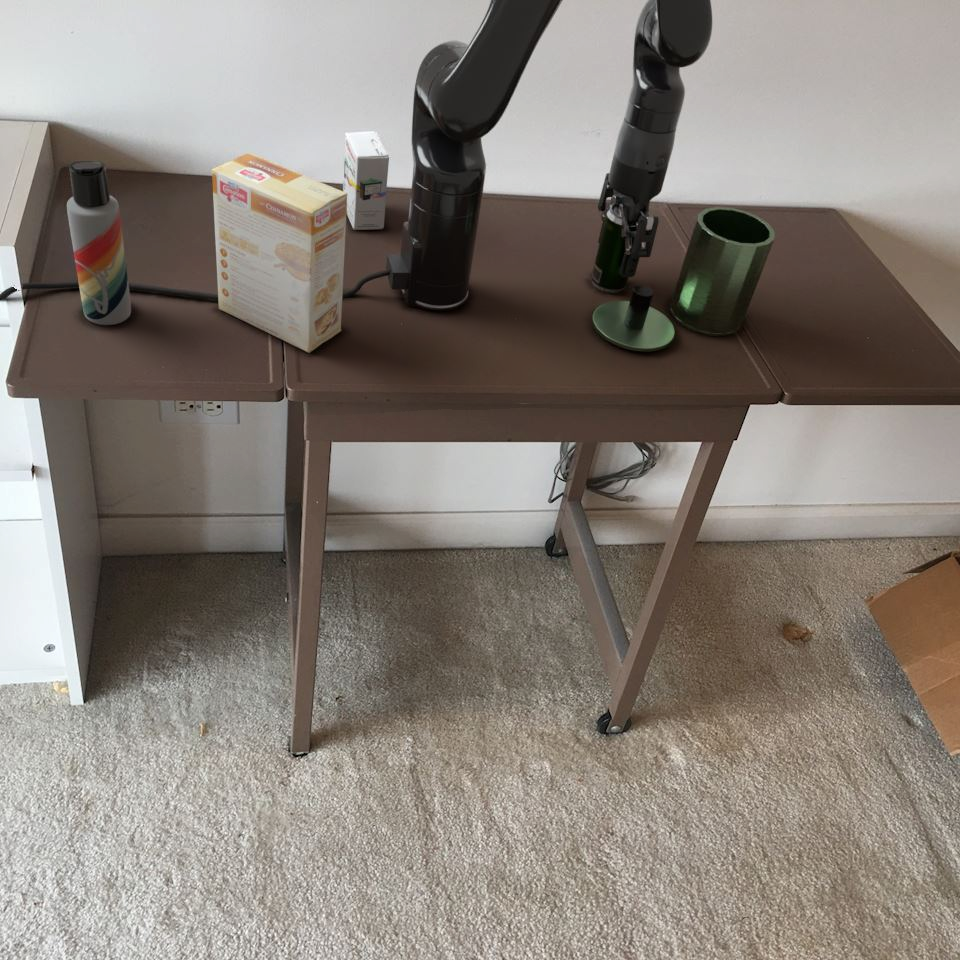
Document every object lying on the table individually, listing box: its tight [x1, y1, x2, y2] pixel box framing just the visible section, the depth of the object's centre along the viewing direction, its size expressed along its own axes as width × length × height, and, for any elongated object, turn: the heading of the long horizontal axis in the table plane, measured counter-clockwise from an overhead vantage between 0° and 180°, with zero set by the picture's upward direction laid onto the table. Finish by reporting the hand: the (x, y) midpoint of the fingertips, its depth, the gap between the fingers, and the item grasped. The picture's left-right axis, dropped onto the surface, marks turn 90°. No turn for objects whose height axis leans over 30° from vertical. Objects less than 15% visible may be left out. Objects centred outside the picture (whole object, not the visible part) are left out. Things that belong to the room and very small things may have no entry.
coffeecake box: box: [211, 152, 347, 354], centre depth 120 cm, size 15×7×20 cm, turn 59°
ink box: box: [342, 130, 390, 231], centre depth 146 cm, size 8×5×12 cm, turn 18°
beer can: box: [590, 205, 637, 294], centre depth 141 cm, size 5×5×12 cm
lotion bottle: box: [66, 160, 132, 326], centre depth 116 cm, size 6×6×20 cm
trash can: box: [669, 206, 776, 337], centre depth 138 cm, size 11×11×14 cm
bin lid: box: [591, 284, 675, 353], centre depth 135 cm, size 12×12×7 cm
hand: (615, 260), depth 143 cm, fingers open, 8 cm apart
